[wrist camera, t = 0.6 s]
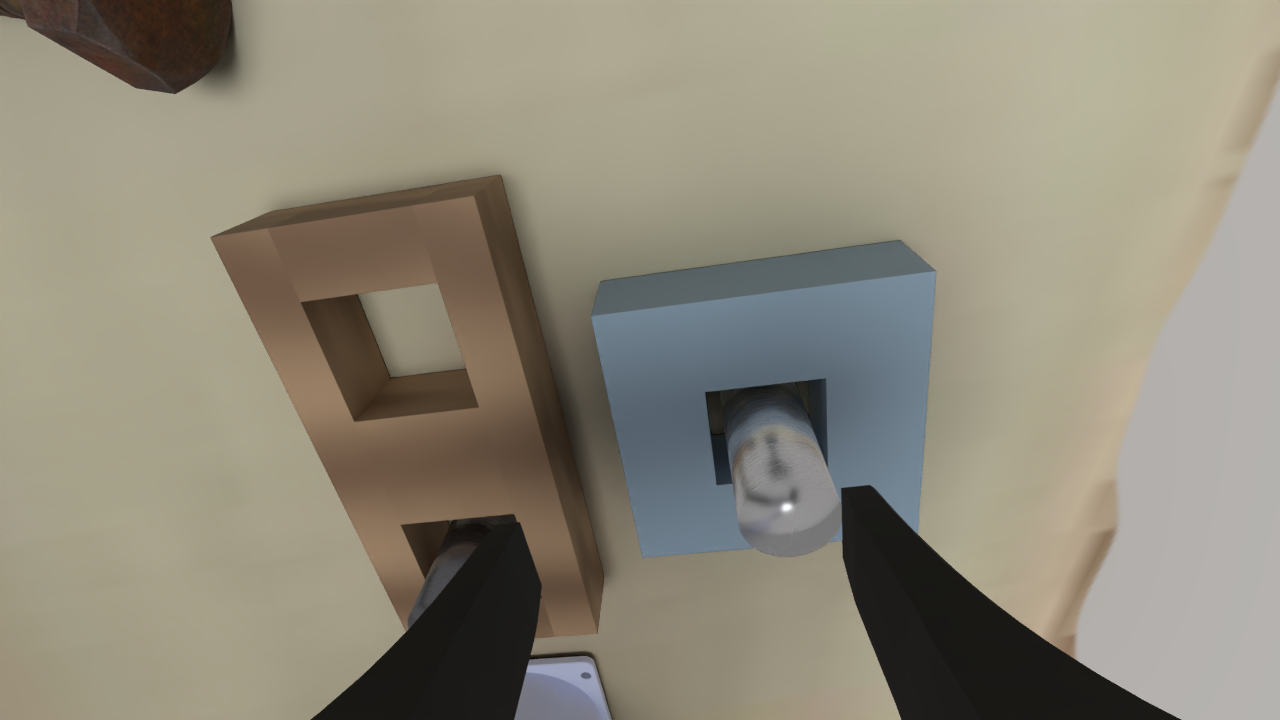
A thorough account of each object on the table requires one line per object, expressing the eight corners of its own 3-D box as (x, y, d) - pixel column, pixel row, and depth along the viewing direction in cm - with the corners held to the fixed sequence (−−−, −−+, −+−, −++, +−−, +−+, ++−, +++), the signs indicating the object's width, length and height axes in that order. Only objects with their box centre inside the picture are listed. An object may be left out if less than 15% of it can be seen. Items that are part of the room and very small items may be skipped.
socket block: (890, 480, 24) (917, 534, 22) (645, 503, 25) (642, 557, 23) (900, 240, 20) (935, 271, 17) (600, 281, 21) (590, 316, 18)
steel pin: (795, 415, 23) (843, 552, 17) (722, 423, 23) (742, 560, 17) (792, 350, 22) (842, 473, 16) (715, 360, 22) (734, 483, 16)
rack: (604, 576, 27) (597, 633, 25) (437, 590, 28) (413, 646, 26) (500, 174, 19) (473, 196, 17) (270, 211, 20) (210, 237, 18)
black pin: (533, 530, 26) (499, 653, 21) (471, 535, 27) (422, 658, 21) (516, 479, 25) (476, 597, 20) (453, 486, 25) (396, 603, 20)
